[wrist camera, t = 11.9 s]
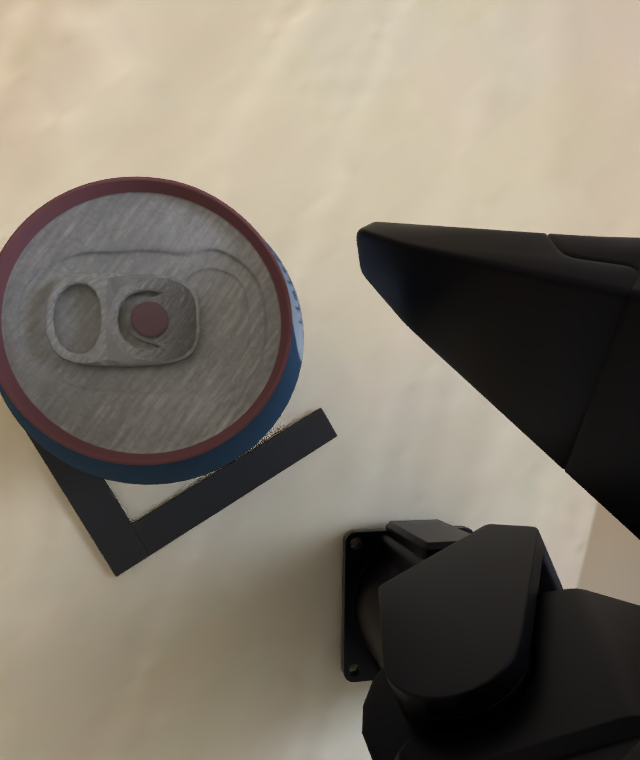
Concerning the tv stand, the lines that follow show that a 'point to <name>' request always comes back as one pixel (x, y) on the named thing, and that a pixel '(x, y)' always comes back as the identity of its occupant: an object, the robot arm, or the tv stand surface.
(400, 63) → the tv stand surface
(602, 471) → the robot arm
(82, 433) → the soda can
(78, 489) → the tape square
